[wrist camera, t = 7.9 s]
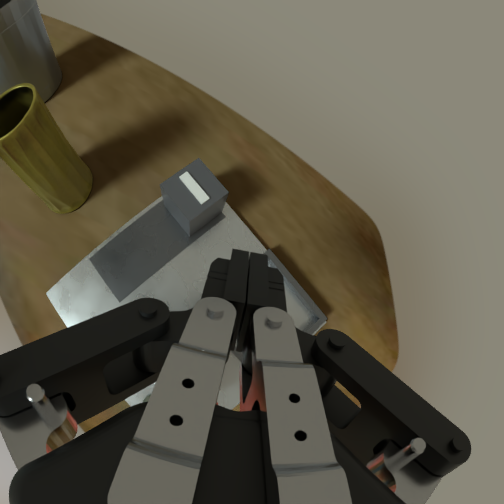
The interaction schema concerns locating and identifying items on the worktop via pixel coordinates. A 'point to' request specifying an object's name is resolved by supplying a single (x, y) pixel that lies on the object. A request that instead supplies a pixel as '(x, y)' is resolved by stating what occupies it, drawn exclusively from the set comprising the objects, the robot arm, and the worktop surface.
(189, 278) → the panel
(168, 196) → the breaker
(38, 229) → the worktop surface
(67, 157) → the vase
